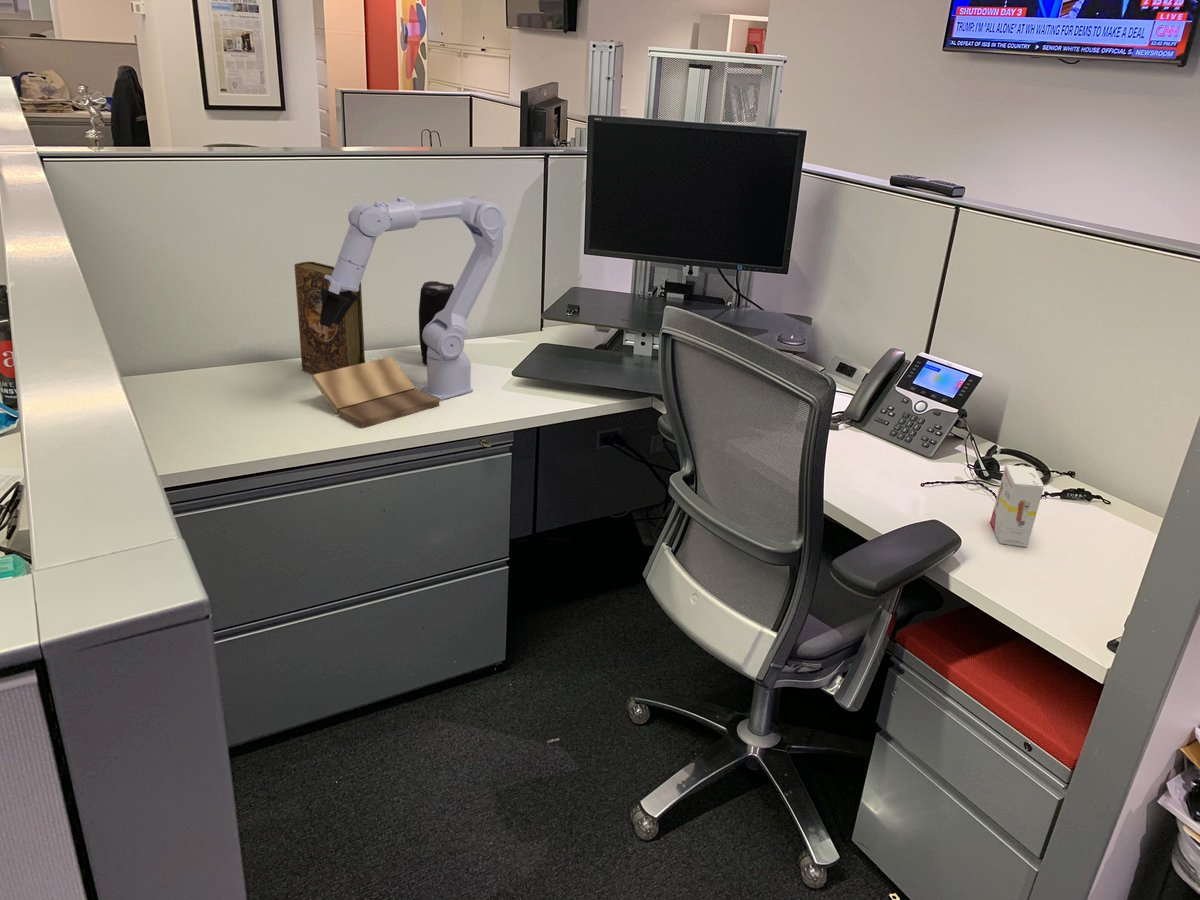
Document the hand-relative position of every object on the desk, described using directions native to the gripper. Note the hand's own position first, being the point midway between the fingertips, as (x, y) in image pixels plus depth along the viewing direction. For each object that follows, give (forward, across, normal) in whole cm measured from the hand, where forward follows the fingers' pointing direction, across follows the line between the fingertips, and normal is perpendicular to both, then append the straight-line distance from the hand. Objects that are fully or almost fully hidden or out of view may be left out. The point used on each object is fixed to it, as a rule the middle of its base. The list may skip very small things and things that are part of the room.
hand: (329, 324), depth 186 cm
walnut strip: (+13, -4, +17) cm, 22 cm away
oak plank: (+11, -10, +10) cm, 18 cm away
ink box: (-17, +40, +130) cm, 137 cm away
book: (+15, -24, 0) cm, 29 cm away
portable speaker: (+5, -36, +21) cm, 42 cm away
